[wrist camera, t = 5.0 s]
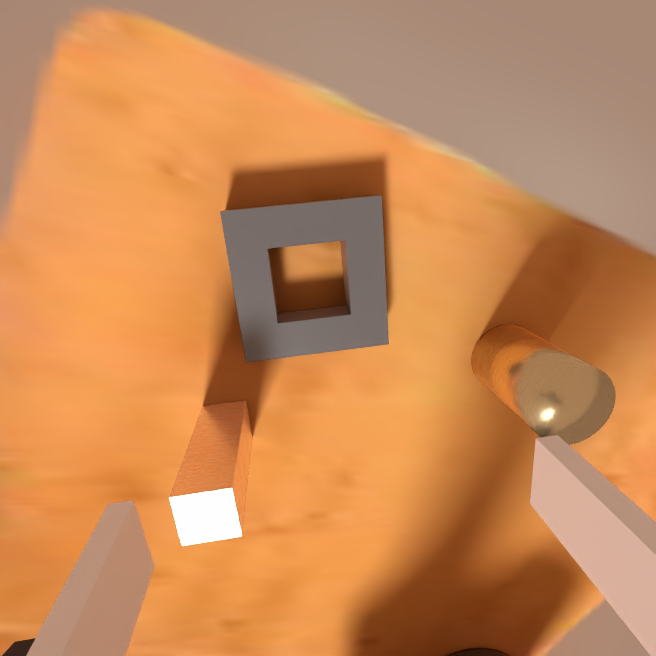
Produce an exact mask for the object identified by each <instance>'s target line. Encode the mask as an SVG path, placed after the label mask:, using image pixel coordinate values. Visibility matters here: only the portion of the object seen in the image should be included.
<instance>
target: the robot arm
mask: <svg viewBox="0 0 656 656" xmlns="http://www.w3.org/2000/svg"><path fill="white" fill-rule="evenodd" d="M530 504H531V506H532V507H533V508H534V509H535V511H536V512H537V513H538V514H539V516H540V517H541V518H542V520H543V521H544V522H545V523H546V525H547V526H548V527H549V528H550V530H551V531H552V532H553V533H554V535H555V536H556V537H557V538H558V540H559V541H560V542H561V543H562V545H563V546H564V547H565V548H566V550H567V551H568V552H569V553H570V555H571V556H572V557H573V558H574V560H575V561H576V562H577V564H578V565H579V566H580V567H581V569H582V570H583V571H584V572H585V574H586V575H587V576H588V577H589V579H590V580H591V581H592V582H593V584H594V585H595V586H596V587H597V589H598V590H599V591H600V592H601V594H602V595H603V596H604V597H605V599H606V600H607V601H608V603H609V604H610V605H611V606H612V608H613V609H614V610H615V611H616V613H617V614H618V615H619V616H620V618H621V619H622V620H623V621H624V623H625V624H626V625H627V626H628V628H629V629H630V630H631V631H632V633H633V634H634V635H635V636H636V638H637V639H638V640H639V641H640V643H641V644H642V645H643V647H644V648H645V649H646V650H647V652H648V653H649V654H650V655H651V656H656V522H655V521H654V520H653V519H652V518H651V517H650V516H648V515H647V514H646V513H645V512H644V511H643V510H642V509H641V508H639V507H638V506H637V505H636V504H635V503H634V502H633V501H631V500H630V499H629V498H628V497H627V496H626V495H625V494H624V493H622V492H621V491H620V490H619V489H618V488H617V487H616V486H615V485H613V484H612V483H611V482H610V481H609V480H608V479H607V478H606V477H604V476H603V475H602V474H601V473H600V472H599V471H598V470H597V469H595V468H594V467H593V466H592V465H591V464H590V463H589V462H587V461H586V460H585V459H584V458H583V457H582V456H581V455H580V454H578V453H577V452H576V451H575V450H574V449H573V448H572V447H571V446H569V445H568V444H567V443H566V442H565V441H564V440H563V439H562V438H560V437H559V436H558V435H554V436H547V437H541V438H536V442H535V453H534V464H533V475H532V486H531V497H530ZM153 570H154V563H153V560H152V557H151V553H150V550H149V547H148V544H147V541H146V538H145V535H144V531H143V528H142V525H141V522H140V519H139V516H138V513H137V509H136V506H135V503H134V500H132V501H125V502H119V503H112V504H108V505H107V507H106V509H105V511H104V513H103V515H102V516H101V518H100V520H99V522H98V524H97V526H96V528H95V529H94V531H93V533H92V535H91V537H90V539H89V541H88V542H87V544H86V546H85V548H84V550H83V552H82V554H81V555H80V557H79V559H78V561H77V563H76V565H75V566H74V568H73V570H72V572H71V574H70V576H69V578H68V579H67V581H66V583H65V585H64V587H63V589H62V591H61V592H60V594H59V596H58V598H57V600H56V602H55V603H54V605H53V607H52V609H51V611H50V613H49V615H48V616H47V618H46V620H45V622H44V624H43V626H42V628H41V629H40V631H39V633H38V635H37V637H36V638H35V639H29V640H23V641H18V642H14V643H13V644H12V646H11V647H10V648H9V649H8V650H7V651H6V652H5V653H4V654H3V655H2V656H125V655H126V652H127V649H128V646H129V643H130V639H131V636H132V633H133V630H134V627H135V624H136V621H137V618H138V615H139V612H140V609H141V606H142V603H143V600H144V597H145V594H146V591H147V588H148V585H149V582H150V579H151V576H152V573H153ZM450 656H507V655H505V654H503V653H501V652H498V651H494V650H488V649H475V650H468V651H463V652H459V653H456V654H453V655H450Z"/></svg>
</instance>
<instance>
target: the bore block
mask: <svg viewBox="0 0 656 656" xmlns="http://www.w3.org/2000/svg"><path fill="white" fill-rule="evenodd" d="M220 213H221V219H222V225H223V230H224V236H225V242H226V248H227V254H228V260H229V266H230V271H231V277H232V283H233V289H234V295H235V301H236V307H237V312H238V318H239V324H240V330H241V336H242V342H243V348H244V353H245V359H246V362H253V361H261V360H269V359H277V358H285V357H293V356H300V355H308V354H316V353H324V352H332V351H339V350H347V349H355V348H363V347H371V346H379V345H386V344H389V340H388V318H387V297H386V275H385V254H384V232H383V210H382V196H379V195H372V196H362V197H352V198H342V199H331V200H321V201H311V202H301V203H291V204H281V205H271V206H261V207H250V208H240V209H230V210H224V211H221V212H220ZM334 241H340V242H341V255H342V267H343V280H344V292H345V305H342V306H334V307H325V308H317V309H309V310H300V311H292V312H284V313H278V311H277V303H276V296H275V289H274V281H273V274H272V267H271V260H270V252H269V248H278V247H287V246H296V245H306V244H315V243H324V242H334Z"/></svg>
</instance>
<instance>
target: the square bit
mask: <svg viewBox="0 0 656 656" xmlns="http://www.w3.org/2000/svg"><path fill="white" fill-rule="evenodd" d="M252 438H253V436H252V431H251V425H250V419H249V414H248V408H247V402H246V400H244V401H237V402H229V403H222V404H215V405H207V406H202V409H201V412H200V415H199V417H198V420H197V423H196V426H195V428H194V431H193V434H192V437H191V440H190V442H189V445H188V448H187V451H186V453H185V456H184V459H183V462H182V464H181V467H180V470H179V473H178V475H177V478H176V481H175V484H174V486H173V489H172V492H171V495H170V497H169V498H170V502H171V506H172V510H173V513H174V517H175V521H176V524H177V528H178V532H179V536H180V539H181V543H182V546H183V545H189V544H195V543H201V542H208V541H214V540H220V539H226V538H233V537H239V536H242V528H243V519H244V510H245V501H246V492H247V483H248V474H249V465H250V456H251V447H252Z"/></svg>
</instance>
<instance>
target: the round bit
mask: <svg viewBox="0 0 656 656" xmlns="http://www.w3.org/2000/svg"><path fill="white" fill-rule="evenodd" d="M471 364H472V369H473V372H474V374H475V375H476V377H477V378H478V379H479V380H480V381H481V382H482V383H483V384H484V385H485V386H486V387H488V388H489V389H490V390H491V391H492V392H493V393H494V394H495V395H496V396H497V397H498V398H499V399H500V400H501V401H503V402H504V403H505V404H506V405H507V406H508V407H509V408H510V409H511V410H512V411H513V412H514V413H515V414H516V415H518V416H519V417H520V418H521V419H522V420H523V421H524V422H525V423H526V424H527V425H528V426H529V427H530V428H531V429H532V430H534V431H535V432H536V433H537V434H538V435H539V436H540V437H547V436H554V435H558V436H559V437H560V438H562V439H563V440H564V441H565V442H566V443H567V444H568V445H570V444H575V443H578V442H581V441H583V440H585V439H587V438H589V437H590V436H592V435H593V434H595V433H596V432H597V431H598V430H599V429H600V428H601V427H602V426H603V425H604V424H605V422H606V421H607V420H608V418H609V416H610V415H611V412H612V410H613V407H614V403H615V388H614V385H613V383H612V381H611V379H610V378H609V377H608V375H606V374H605V373H604V372H602V371H601V370H599V369H597V368H595V367H593V366H592V365H590V364H588V363H586V362H584V361H583V360H581V359H579V358H577V357H575V356H574V355H572V354H570V353H568V352H566V351H564V350H563V349H561V348H559V347H557V346H555V345H554V344H552V343H550V342H548V341H546V340H545V339H543V338H541V337H539V336H537V335H535V334H534V333H532V332H530V331H528V330H526V329H525V328H523V327H521V326H518V325H514V324H505V325H500V326H497V327H495V328H492V329H491V330H489V331H488V332H486V333H485V334H484V335H483V336H482V337H481V338H480V339H479V341H478V342H477V344H476V345H475V347H474V350H473V353H472V358H471Z"/></svg>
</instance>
